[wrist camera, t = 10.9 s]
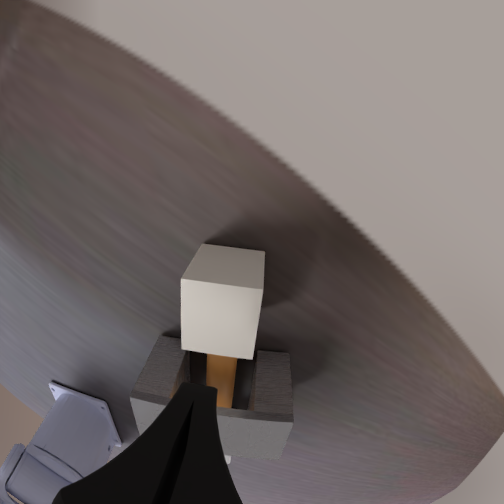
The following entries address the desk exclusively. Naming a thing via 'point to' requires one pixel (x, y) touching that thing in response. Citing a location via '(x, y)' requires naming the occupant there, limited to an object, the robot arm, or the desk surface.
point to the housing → (229, 420)
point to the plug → (222, 311)
